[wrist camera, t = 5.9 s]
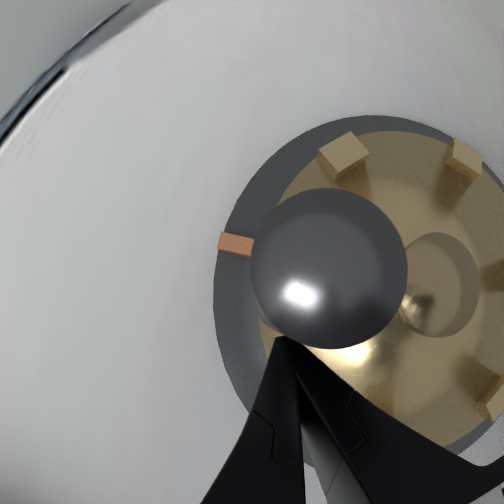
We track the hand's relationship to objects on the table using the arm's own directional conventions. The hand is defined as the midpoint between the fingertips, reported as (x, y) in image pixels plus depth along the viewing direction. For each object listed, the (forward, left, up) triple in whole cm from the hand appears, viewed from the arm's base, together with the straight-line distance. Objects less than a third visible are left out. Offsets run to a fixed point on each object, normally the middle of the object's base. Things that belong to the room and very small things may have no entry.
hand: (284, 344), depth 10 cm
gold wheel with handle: (-2, -10, -7) cm, 12 cm away
